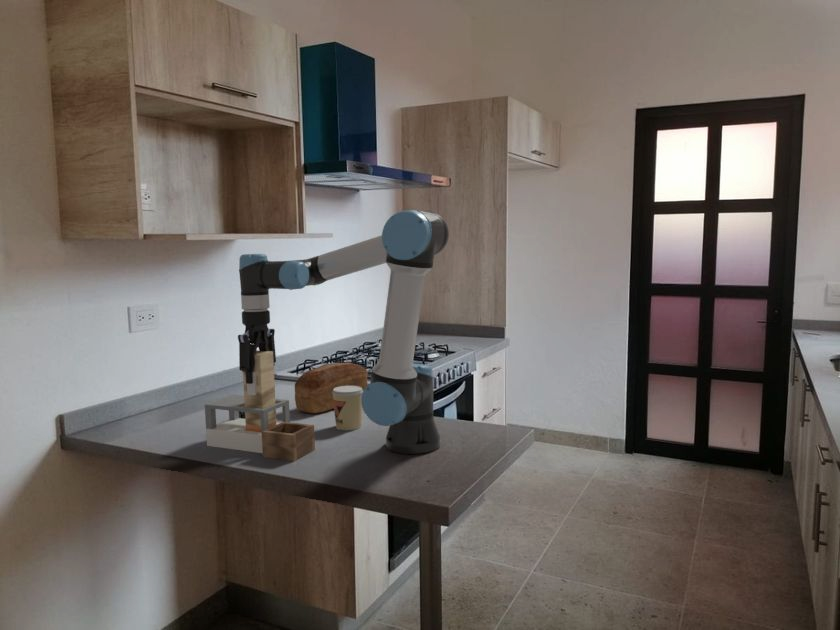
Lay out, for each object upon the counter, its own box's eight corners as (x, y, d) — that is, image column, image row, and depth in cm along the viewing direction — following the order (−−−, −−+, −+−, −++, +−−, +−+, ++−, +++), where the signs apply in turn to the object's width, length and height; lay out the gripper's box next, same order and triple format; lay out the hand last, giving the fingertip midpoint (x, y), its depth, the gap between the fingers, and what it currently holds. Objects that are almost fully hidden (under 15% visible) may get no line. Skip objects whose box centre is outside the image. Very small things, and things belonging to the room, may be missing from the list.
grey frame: (290, 440, 191) (288, 400, 189) (265, 453, 180) (263, 410, 178) (234, 433, 199) (232, 394, 197) (207, 445, 188) (204, 404, 186)
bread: (373, 400, 237) (372, 360, 235) (313, 417, 215) (312, 374, 213) (350, 395, 244) (348, 357, 242) (290, 411, 223) (288, 369, 221)
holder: (315, 449, 182) (314, 425, 181) (294, 461, 173) (293, 435, 172) (284, 445, 186) (283, 421, 185) (262, 457, 177) (261, 431, 176)
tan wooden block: (276, 420, 188) (273, 351, 186) (263, 426, 183) (259, 355, 180) (258, 418, 191) (255, 350, 188) (245, 424, 185) (241, 353, 183)
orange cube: (277, 441, 189) (276, 420, 188) (264, 448, 183) (263, 426, 183) (259, 439, 191) (258, 418, 191) (246, 445, 186) (245, 424, 185)
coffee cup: (329, 425, 206) (327, 387, 204) (357, 421, 210) (356, 384, 208) (339, 433, 197) (338, 393, 196) (368, 428, 202) (367, 389, 200)
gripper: (265, 306, 193) (268, 383, 196) (221, 313, 176) (226, 398, 178) (286, 306, 190) (290, 385, 193) (244, 314, 173) (249, 401, 175)
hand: (259, 391), depth 186 cm, fingers closed on tan wooden block, 6 cm apart
